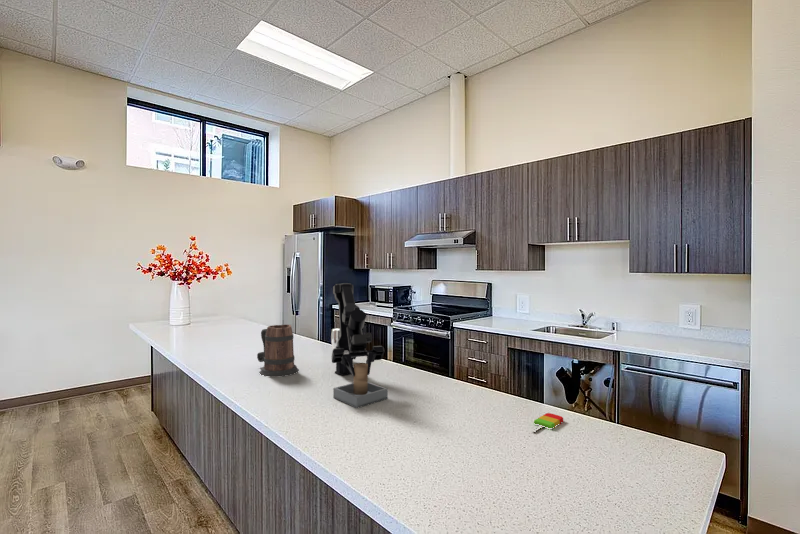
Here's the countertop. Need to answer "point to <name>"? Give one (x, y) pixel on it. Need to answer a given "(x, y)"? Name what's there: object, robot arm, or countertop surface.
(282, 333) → the tankard
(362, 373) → the walnut cylinder
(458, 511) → the countertop surface
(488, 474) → the countertop surface
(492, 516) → the countertop surface
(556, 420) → the popsicle
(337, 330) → the beer glass
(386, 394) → the tote
